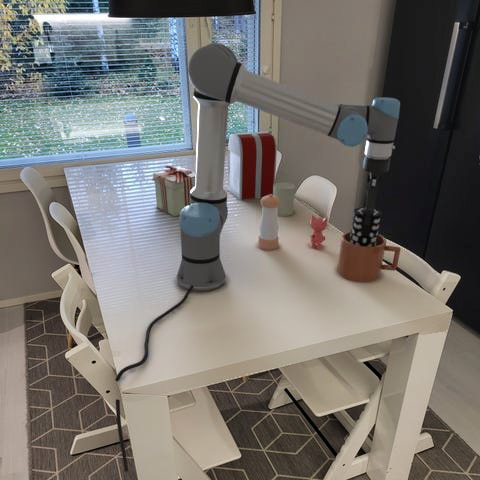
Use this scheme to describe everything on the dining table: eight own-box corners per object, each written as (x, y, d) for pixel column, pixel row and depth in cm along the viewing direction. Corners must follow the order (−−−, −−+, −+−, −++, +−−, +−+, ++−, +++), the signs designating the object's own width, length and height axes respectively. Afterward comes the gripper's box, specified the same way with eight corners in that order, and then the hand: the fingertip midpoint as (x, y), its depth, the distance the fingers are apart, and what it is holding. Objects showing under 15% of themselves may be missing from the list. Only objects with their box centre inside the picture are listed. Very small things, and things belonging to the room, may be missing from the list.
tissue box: (275, 196, 226) (278, 135, 211) (240, 200, 220) (241, 138, 206) (260, 186, 239) (263, 128, 224) (227, 189, 233) (227, 130, 218)
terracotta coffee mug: (335, 279, 155) (340, 244, 149) (338, 261, 167) (343, 228, 160) (395, 286, 152) (402, 251, 145) (394, 267, 163) (401, 234, 157)
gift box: (148, 209, 207) (144, 168, 198) (182, 200, 218) (180, 161, 209) (172, 219, 197) (170, 177, 188) (206, 209, 208) (206, 169, 199)
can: (268, 213, 206) (269, 185, 199) (277, 207, 213) (278, 179, 206) (288, 217, 202) (290, 188, 196) (296, 210, 209) (298, 183, 203)
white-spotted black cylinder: (371, 276, 155) (382, 217, 144) (345, 274, 156) (354, 215, 145) (370, 265, 162) (380, 208, 151) (345, 263, 163) (353, 206, 152)
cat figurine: (328, 245, 178) (332, 214, 171) (321, 252, 173) (324, 220, 166) (310, 241, 181) (313, 210, 174) (303, 247, 176) (306, 216, 169)
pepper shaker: (261, 250, 173) (264, 198, 163) (255, 242, 179) (257, 191, 169) (280, 248, 175) (284, 196, 164) (274, 241, 181) (277, 190, 170)
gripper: (391, 168, 129) (377, 242, 140) (390, 148, 149) (378, 214, 161) (363, 166, 130) (351, 239, 142) (365, 146, 151) (355, 211, 162)
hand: (365, 226), depth 151 cm, fingers open, 13 cm apart
